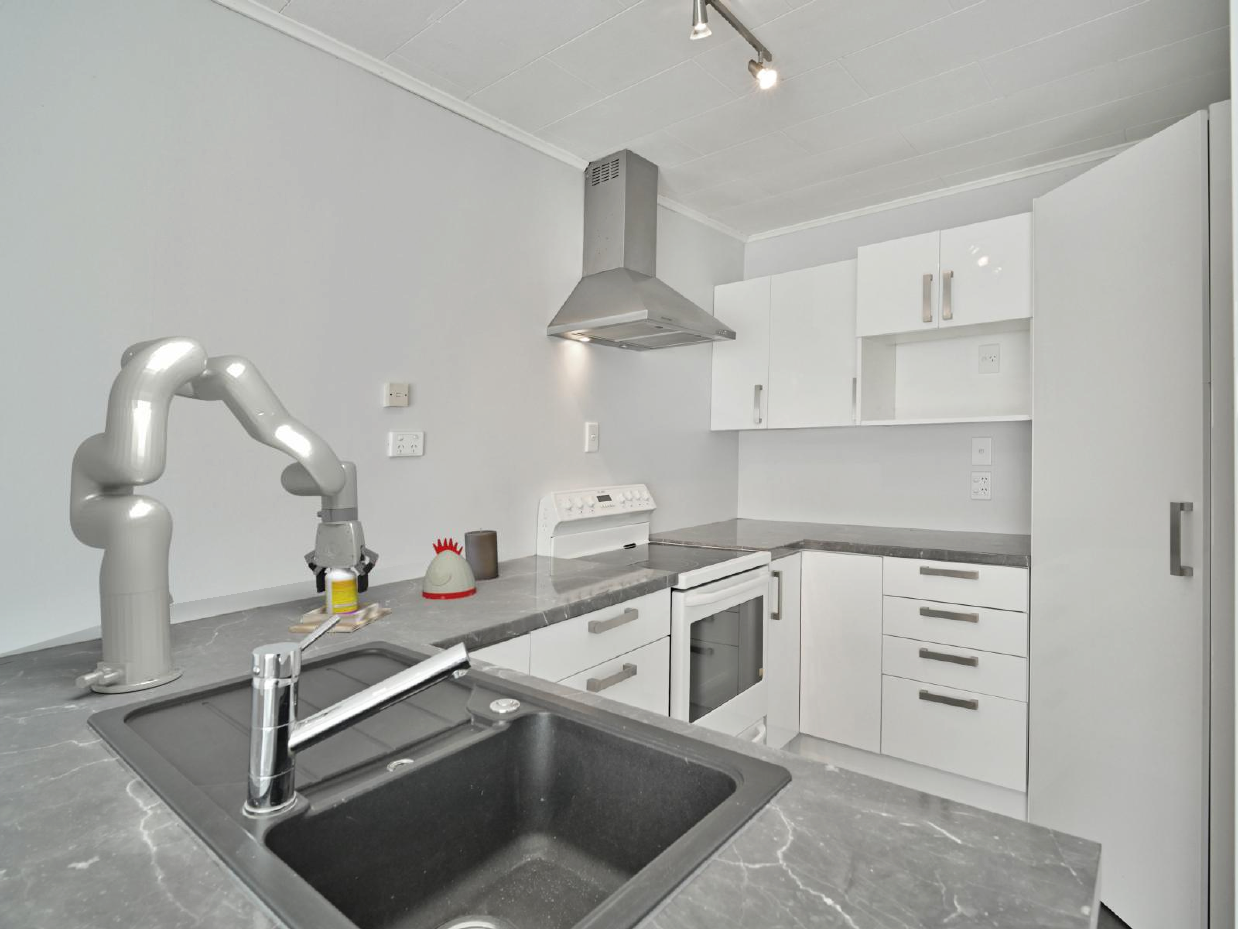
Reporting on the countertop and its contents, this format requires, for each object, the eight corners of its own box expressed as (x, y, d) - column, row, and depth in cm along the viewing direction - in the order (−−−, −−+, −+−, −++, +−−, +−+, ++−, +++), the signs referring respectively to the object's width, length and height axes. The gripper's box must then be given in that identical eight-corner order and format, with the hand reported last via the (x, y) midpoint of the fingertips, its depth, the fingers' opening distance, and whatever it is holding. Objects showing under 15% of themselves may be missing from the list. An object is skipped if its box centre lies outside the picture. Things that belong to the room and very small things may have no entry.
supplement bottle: (364, 615, 152) (362, 559, 152) (338, 622, 147) (336, 564, 147) (345, 612, 156) (344, 557, 156) (319, 619, 150) (318, 561, 150)
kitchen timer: (435, 588, 187) (434, 534, 187) (483, 588, 185) (481, 534, 185) (413, 599, 174) (412, 541, 173) (464, 600, 172) (463, 541, 171)
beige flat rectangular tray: (351, 633, 142) (350, 618, 142) (290, 632, 144) (289, 618, 144) (391, 612, 160) (391, 599, 159) (336, 611, 161) (336, 599, 161)
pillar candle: (503, 574, 206) (501, 525, 206) (491, 580, 196) (489, 529, 196) (473, 574, 208) (471, 526, 208) (460, 580, 198) (458, 530, 198)
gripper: (294, 518, 148) (296, 595, 149) (367, 517, 146) (370, 595, 147) (314, 514, 156) (316, 588, 156) (384, 514, 154) (386, 588, 154)
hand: (342, 591), depth 151 cm, fingers open, 9 cm apart
